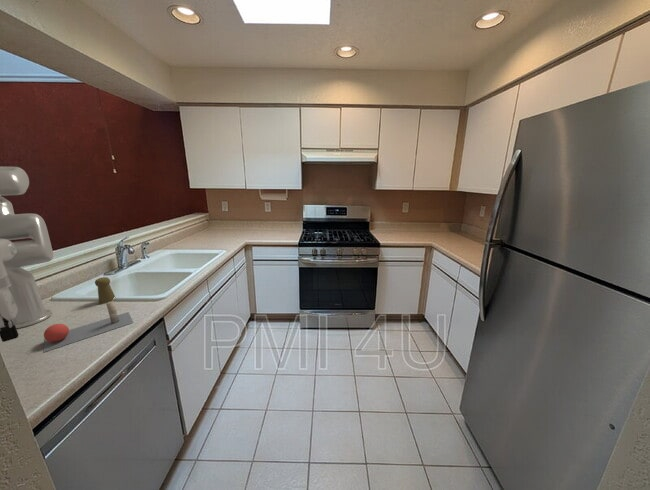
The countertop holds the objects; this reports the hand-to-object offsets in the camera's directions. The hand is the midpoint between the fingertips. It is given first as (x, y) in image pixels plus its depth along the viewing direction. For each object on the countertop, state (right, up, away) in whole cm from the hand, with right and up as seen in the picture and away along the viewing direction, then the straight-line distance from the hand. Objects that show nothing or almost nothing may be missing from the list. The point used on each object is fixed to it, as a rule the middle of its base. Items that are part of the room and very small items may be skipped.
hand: (10, 338), depth 80 cm
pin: (+17, -1, +19) cm, 26 cm away
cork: (-1, +4, +37) cm, 37 cm away
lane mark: (+12, -2, +14) cm, 19 cm away
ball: (+6, -1, +8) cm, 10 cm away
